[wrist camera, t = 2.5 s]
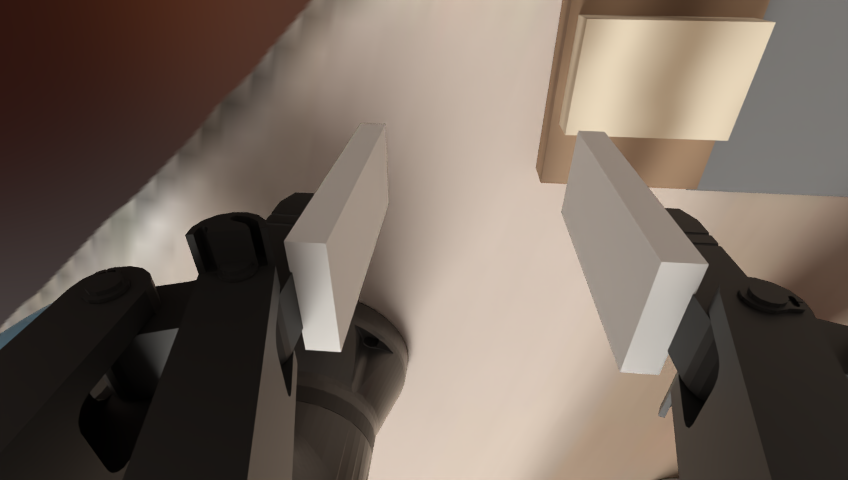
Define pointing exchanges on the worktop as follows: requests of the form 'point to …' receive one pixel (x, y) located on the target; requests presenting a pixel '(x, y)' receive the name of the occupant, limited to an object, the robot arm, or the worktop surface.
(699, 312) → the robot arm
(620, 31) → the birch tile
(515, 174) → the worktop surface
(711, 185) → the rubber mat
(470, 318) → the worktop surface
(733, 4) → the walnut deck
